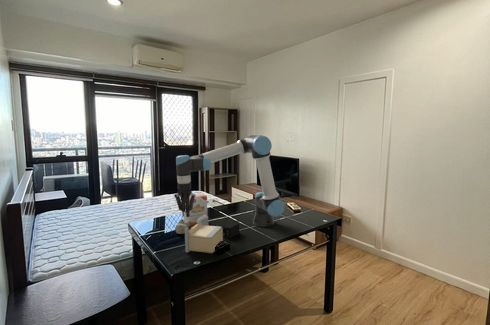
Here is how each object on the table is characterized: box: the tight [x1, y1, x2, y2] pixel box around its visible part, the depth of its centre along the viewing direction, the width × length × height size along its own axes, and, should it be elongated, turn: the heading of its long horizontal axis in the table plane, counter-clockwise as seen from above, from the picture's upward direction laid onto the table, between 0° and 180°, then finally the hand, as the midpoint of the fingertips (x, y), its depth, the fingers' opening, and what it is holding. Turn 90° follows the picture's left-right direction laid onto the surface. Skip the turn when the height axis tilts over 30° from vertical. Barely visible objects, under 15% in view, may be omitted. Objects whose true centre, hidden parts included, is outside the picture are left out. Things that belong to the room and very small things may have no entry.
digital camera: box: [222, 221, 240, 240], centre depth 164 cm, size 10×5×7 cm, turn 146°
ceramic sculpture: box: [174, 218, 193, 235], centre depth 171 cm, size 11×9×15 cm
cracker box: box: [187, 194, 208, 227], centre depth 183 cm, size 14×6×21 cm, turn 115°
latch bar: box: [196, 213, 208, 223], centre depth 159 cm, size 2×12×2 cm, turn 165°
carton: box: [184, 215, 224, 254], centre depth 152 cm, size 15×28×14 cm, turn 165°
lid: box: [189, 222, 223, 239], centre depth 148 cm, size 14×16×3 cm
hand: (186, 222), depth 149 cm, fingers closed
